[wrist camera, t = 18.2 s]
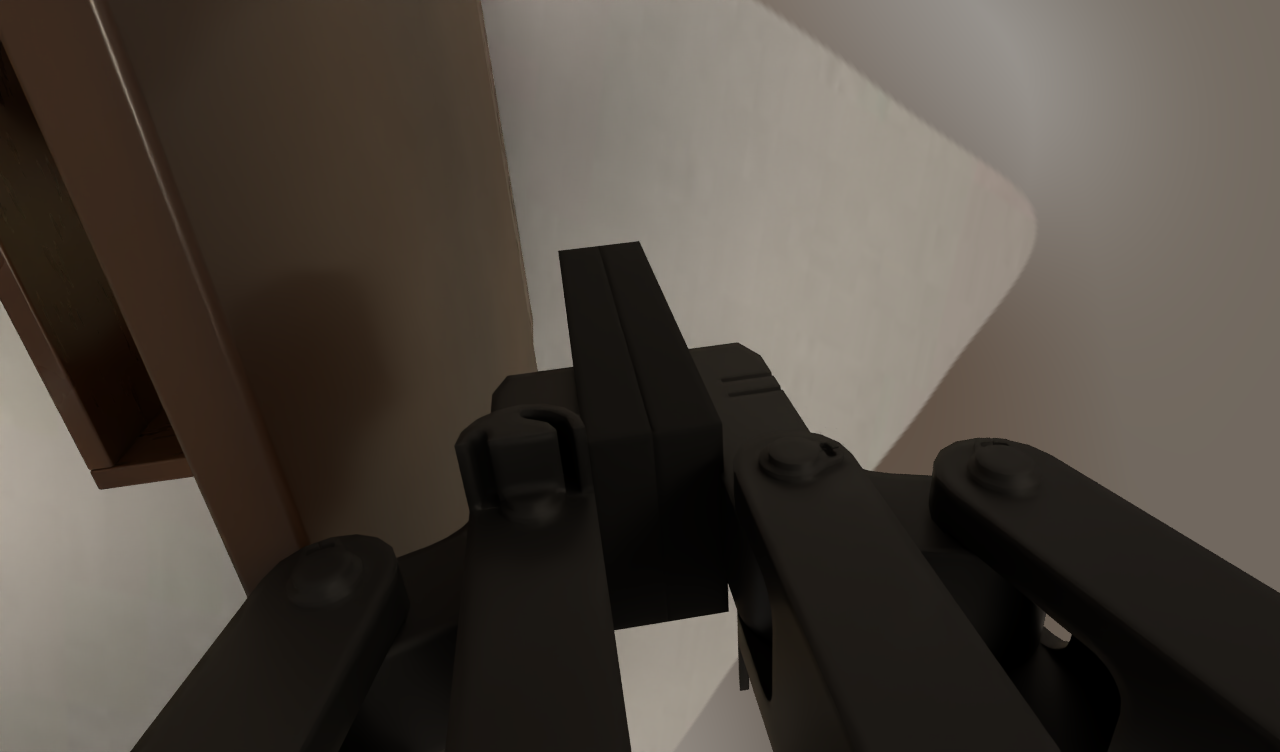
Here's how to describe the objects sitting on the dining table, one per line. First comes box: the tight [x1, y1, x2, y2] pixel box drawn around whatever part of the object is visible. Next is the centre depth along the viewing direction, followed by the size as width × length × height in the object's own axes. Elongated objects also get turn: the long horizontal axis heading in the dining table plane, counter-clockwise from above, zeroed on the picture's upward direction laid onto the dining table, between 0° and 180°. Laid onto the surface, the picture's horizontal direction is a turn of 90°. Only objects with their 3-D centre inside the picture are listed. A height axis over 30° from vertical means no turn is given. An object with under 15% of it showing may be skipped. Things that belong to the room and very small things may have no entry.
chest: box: [0, 0, 533, 490], centre depth 23 cm, size 13×13×9 cm
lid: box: [0, 0, 538, 598], centre depth 14 cm, size 14×13×1 cm
